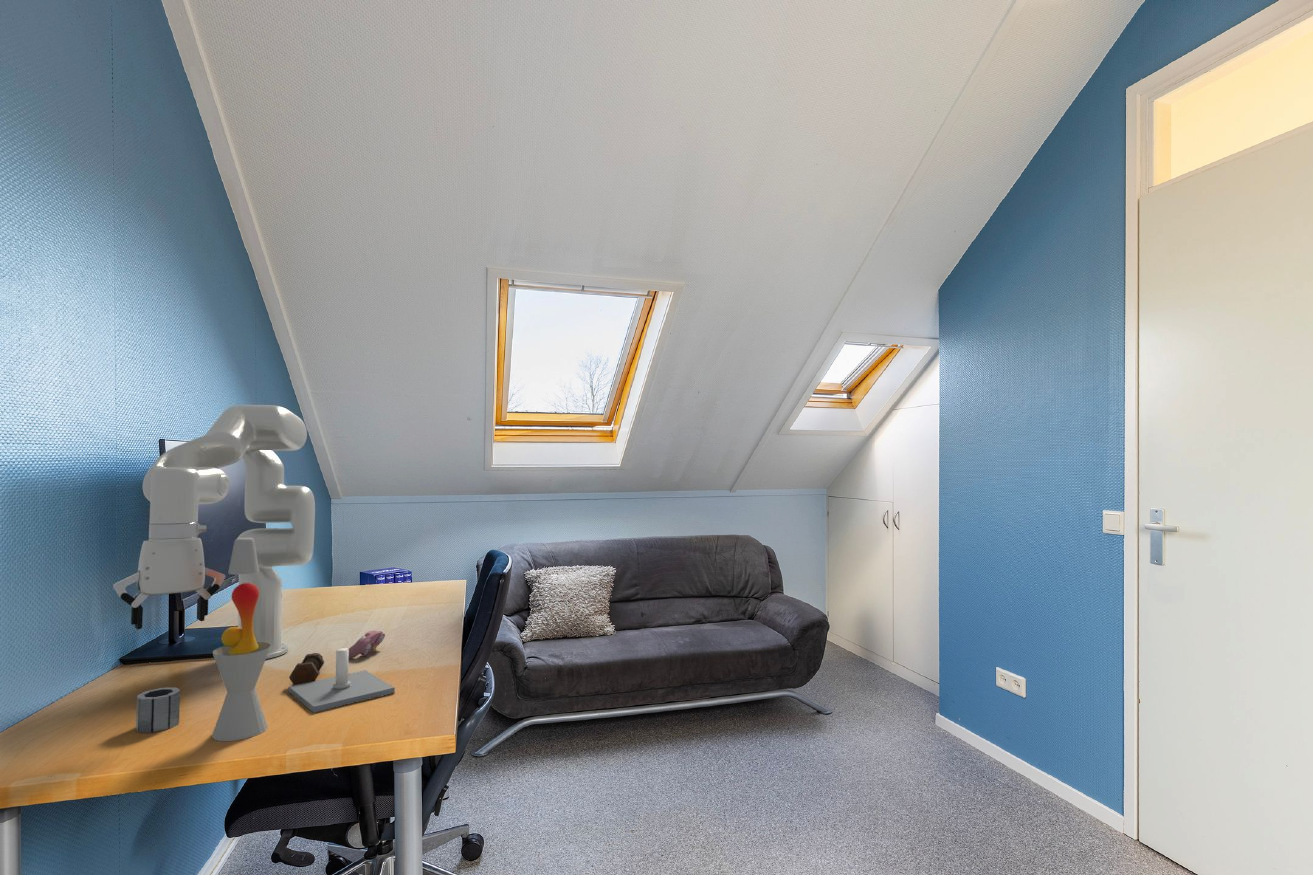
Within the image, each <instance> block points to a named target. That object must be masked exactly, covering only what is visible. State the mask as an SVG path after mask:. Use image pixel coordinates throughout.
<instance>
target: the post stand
mask: <svg viewBox="0 0 1313 875" xmlns="http://www.w3.org/2000/svg"><path fill="white" fill-rule="evenodd" d="M348 656H349V648H347V647H343V648H338V649H336V651H335V676H333V677H332V676H331V677H328V678H323V679H318V680H317V679H316V680H315V681H312V682H308V683H303V684H298V685H289V686H288V693H289V692H290V693H291V695H292V696H293V695H294V696H293V697H294V698H295V697H296V698H297V701H298V702H300V701H301V702H300V703H301V704H303V706H305V707H306V708H307V707H308V709H309V710H310V711H311V712H312V713H313V714H315V713H319V712H323V711H327V709H328V710H331V708H332V709H335V708H334V707H336V708H339V707H338V706H340V707H343V705H344V706H346V705H345V704H348V705H352V704H355V703H354V702H356V703H358V702H357V701H360V702H364V701H363V700H365V701H368V700H367V699H369V698H373V699H375V698H374V697H377V698H380V696H381V697H383V696H382V695H385V696H389V695H392V694H391V693H393V694H395V693H396V690H395V689H396V688H395V686H393V685H392V684H390V683H388V682H386V681H385V680H382V679H381V678H380V677H377V676H376V675H374V674H373V673H371V672H369V671H367V670H366V669H365V670H360V671H355V672H351V673H349V659H348ZM290 693H289V694H290ZM388 694H389V695H388ZM296 698H295V699H296ZM369 700H370V699H369ZM351 703H352V704H351ZM322 710H323V711H322Z"/></svg>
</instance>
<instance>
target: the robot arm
mask: <svg viewBox="0 0 1313 875" xmlns="http://www.w3.org/2000/svg"><path fill="white" fill-rule="evenodd" d="M305 424H306V423H305V422H304V421H303V420H302V418H300V417H299V416H297V415H296V414H295V413H293V411H290V410H289V409H287V408H285V407H282V406H281V405H273V404H236V405H232V406H229V407H227V408H226V409H225V410H224V411H223V412H222V413H221V414H220V416H219V417H218V418H217V419H216V421H214V423H213V424H212V426H210V428H209V429H208V430H207V432H206V433H205V434H204V435H201V436H199V437H196V438H193V439H191V440H189V441H187V442H185V443H181V444H179V445H177V446H175V447H172V448H170V449H168V450H167V451H165V452H164V453H163V454H161V455H159V457H158V458H157V459H155V462H153V464H152V465H150V467H149V469H148V470H147V472H146V474H145V475H144V479H143V481H142V491H143V496H144V497H145V498H146V499H147V500H148V502H150V503H149V505H150V506H149V524H148V527H149V528H148V540H143V542H142V544H141V548H140V553H139V559H138V566H137V567H138V568H137V572H136V573H134V574H131V575H130V576H128V577H127V576H126V577H125V578H124V579H121V580H119V581H117V582H115V583H114V584H113V586H112V587H113V590H115V592H116V593H117V595H118V597H119V598H120V599H121V600H122V601H123V602H125V603H126V604H128V605H129V606H130V607H131V611H130V624H131V626H133V625H134V628H135V629H136V630H141V629H143V618H144V616H143V614H144V611H143V610H144V608H143V606H142V604H143V602H144V601H145V600H146V599H147V598H148V597H149V596H162V595H168V594H169V595H171V594H180V593H189V592H195V593H197V594H198V596H199V598H197V600H196V620H198V621H199V622H204V621H205V617H206V616H208V615H209V600H210V599H211V597H212V596H213V595H214V594H215V593H216V592H217V591H218V590H219V589H220V587H221V585H222V584H223V582H224V580H225V579H226V574H224V573H221V572H220V571H219V572H218V571H216V570H213V569H211V568H208V567H206V566H205V555H204V553H205V552H204V546H203V542H202V539H201V538H200V537H198V536H199V534H201V533H206V532H207V525H206V524H204V525H203V524H200V522H199V505H211V504H215V503H218V502H220V501H222V500H223V499H225V497H226V496H227V495H228V493H229V491H230V484H231V483H230V478H229V476H228V475H227V473H226V472H225V471H223V469H221V468H225V467H228V466H231V465H233V464H236V463H238V462H239V461H241V459H242V461H243V463H244V467H245V484H244V485H245V486H244V487H245V488H244V516H245V518H246V519H247V520H248V521H250V522H252V523H260V524H279V523H280V524H285V523H289V524H291V526H292V527H291V528H290V527H288V528H287V527H284V528H283V527H282V528H281V527H280V528H279V527H271V528H269V527H266V528H265V527H264V528H263V527H262V528H261V527H260V528H259V527H258V528H252V529H251V528H250V529H248V530H246V531H243V532H242V533H241V534H239V536H238V537H237V538H236V539H238V538H253V539H254V542H255V548H256V554H257V561H258V567H259V572H256V573H251V574H238V585H240V584H243V583H251V584H253V585H255V586H256V587H257V588H258V590H259V597H258V600H257V603H256V606H255V610H254V615H253V630H254V636H255V639H256V642H266V643H269V644H270V649H269V652H268V655H267V657H266V660H268V659H272V658H277V657H279V656H282V655H285V654H286V653H287V652H288V650H289V646H288V645H287V644H285V643H282V615H283V581H282V579H281V576H280V575H279V574H278V573H277V571H276V570H275V569H274V567H290V566H291V567H292V566H295V567H296V566H302V565H306V564H308V563H309V562H310V561H311V559H312V557H313V554H314V547H315V546H314V545H315V526H316V525H315V521H316V501H315V496H314V493H313V491H312V490H311V489H310V488H309V487H307V486H304V485H285V480H284V479H285V466H284V463H283V462H282V460H281V459H280V457H279V456H278V455H277V454H276V453H275V451H276V452H278V451H279V452H292V451H293V452H294V451H299V450H300V449H302V448H303V447H304V446H305V443H306V441H307V436H308V430H307V427H306V425H305ZM206 576H208V577H210V578H212V579H214V580H213V581H212V584H211V585H209V586H208V587H207V588H204V586H205V582H206ZM135 583H136V590H137V591H138V592H137V593H136V594H135V595H134V596H131V594H129V593H128V591H127V590H126V589H127V587H128V586H131V585H132V584H135ZM237 615H238V617H237V618H238V619H237V627H239V628H241V629H242V626H241V618H240V615H239V613H238V614H237Z"/></svg>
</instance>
